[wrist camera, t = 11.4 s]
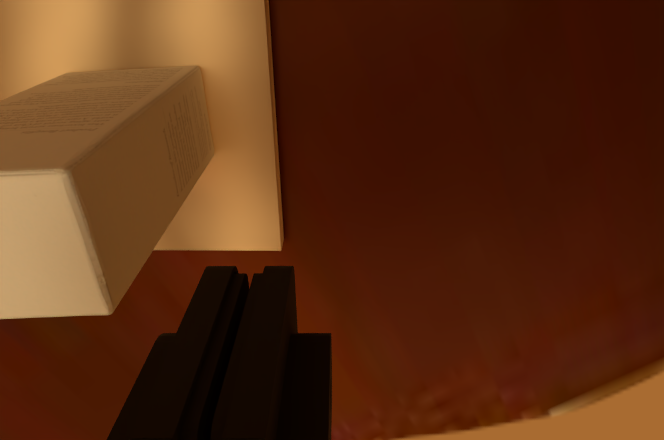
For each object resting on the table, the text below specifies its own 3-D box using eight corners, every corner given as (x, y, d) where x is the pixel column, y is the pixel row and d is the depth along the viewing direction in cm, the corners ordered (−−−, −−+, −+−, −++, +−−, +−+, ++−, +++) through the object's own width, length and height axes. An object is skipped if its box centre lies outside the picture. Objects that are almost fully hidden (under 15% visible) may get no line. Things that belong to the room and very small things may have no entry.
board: (264, -63, 20) (248, -68, 17) (283, 238, 27) (275, 276, 23) (-307, -55, 21) (-425, -58, 18) (-153, 237, 27) (-220, 273, 24)
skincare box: (94, 162, 24) (-115, 328, 13) (66, 70, 22) (-205, 175, 11) (221, 157, 23) (114, 322, 13) (204, 62, 21) (62, 163, 11)
